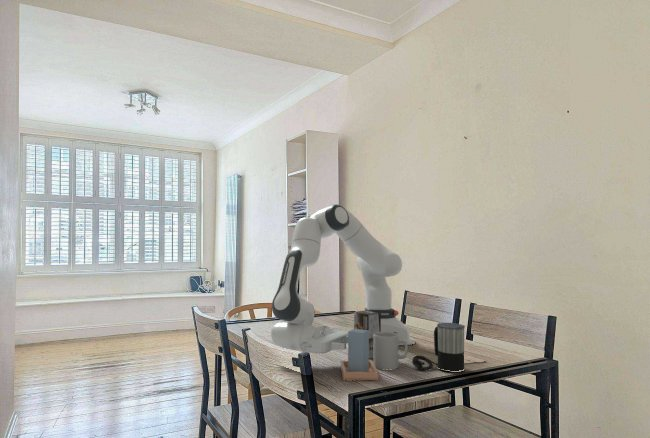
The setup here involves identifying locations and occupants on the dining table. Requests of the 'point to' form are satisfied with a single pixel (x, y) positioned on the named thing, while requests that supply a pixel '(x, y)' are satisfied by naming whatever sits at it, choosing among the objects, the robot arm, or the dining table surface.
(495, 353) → the dining table surface
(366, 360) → the slate block
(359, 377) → the tray
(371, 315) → the coffee box
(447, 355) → the milk frother
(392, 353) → the mug
